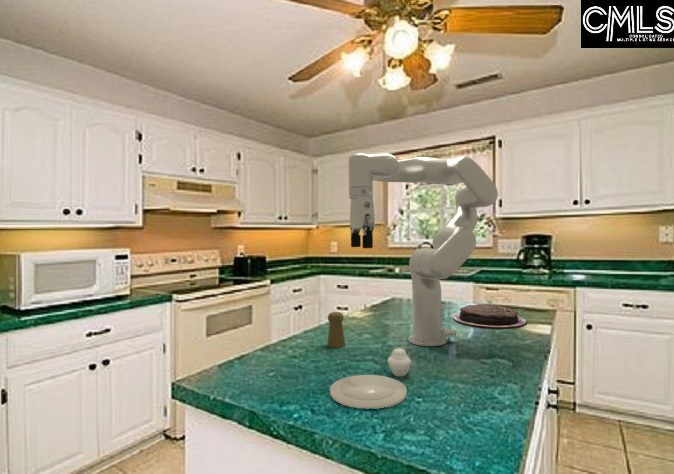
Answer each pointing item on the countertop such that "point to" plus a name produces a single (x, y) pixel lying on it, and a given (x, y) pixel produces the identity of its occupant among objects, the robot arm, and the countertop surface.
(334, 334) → the cork
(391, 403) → the plate
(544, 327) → the countertop surface
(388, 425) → the countertop surface
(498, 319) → the chocolate cake
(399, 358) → the muffin
